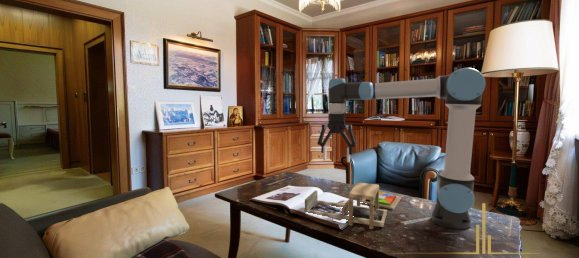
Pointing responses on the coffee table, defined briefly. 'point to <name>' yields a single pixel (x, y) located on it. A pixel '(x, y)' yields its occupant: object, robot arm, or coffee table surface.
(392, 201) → the wooden puzzle
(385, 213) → the sled
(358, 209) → the rock
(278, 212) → the coffee table surface
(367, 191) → the stool
